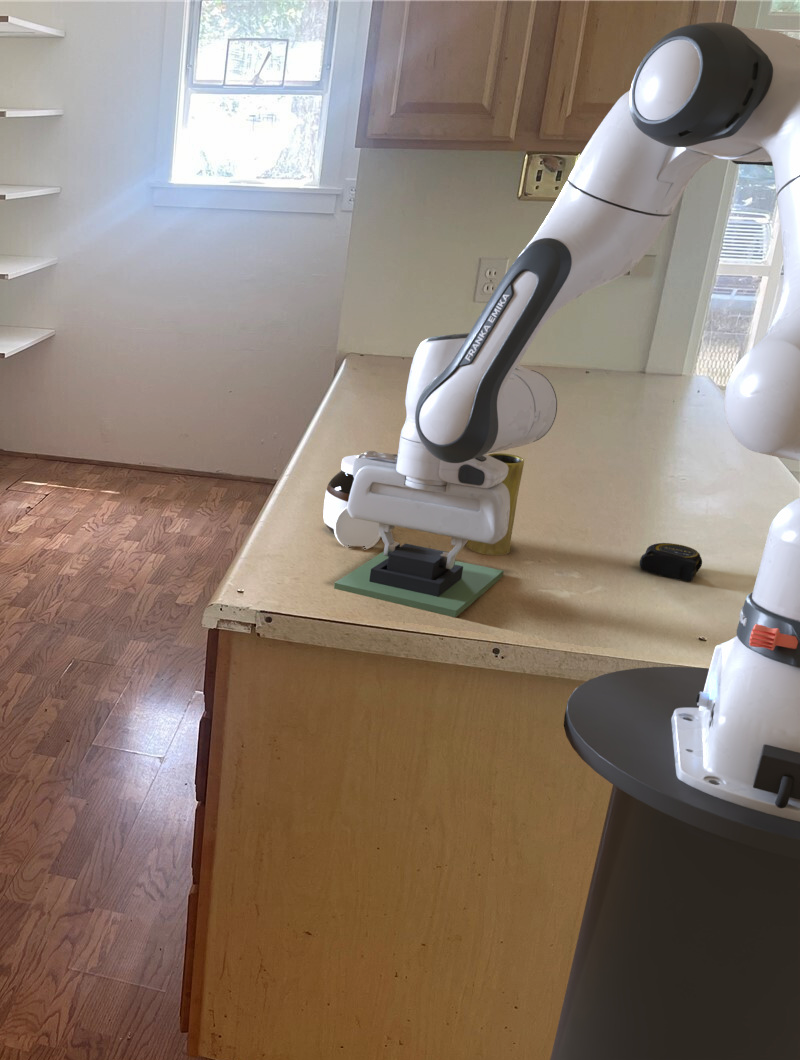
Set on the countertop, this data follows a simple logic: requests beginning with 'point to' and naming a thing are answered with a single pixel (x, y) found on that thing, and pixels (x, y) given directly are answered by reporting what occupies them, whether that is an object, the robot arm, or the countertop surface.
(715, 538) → the countertop surface
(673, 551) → the tape measure
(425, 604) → the socket mat
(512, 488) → the vase
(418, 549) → the plug
